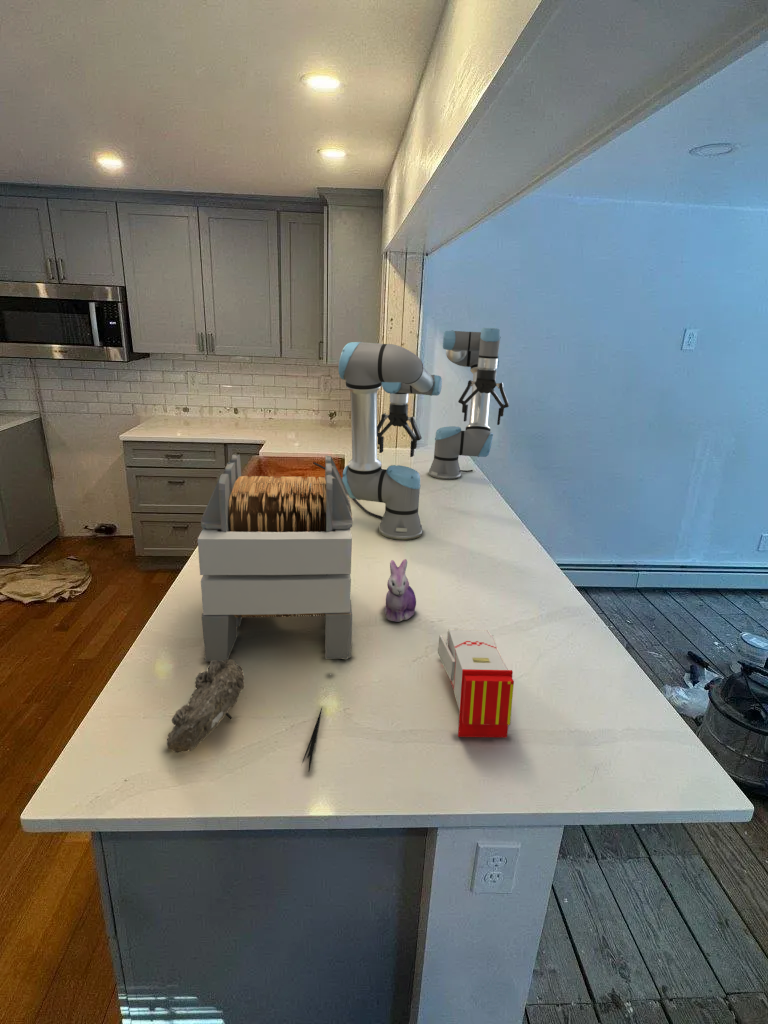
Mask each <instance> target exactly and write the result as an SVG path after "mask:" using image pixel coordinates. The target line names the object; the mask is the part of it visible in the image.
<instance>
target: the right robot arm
mask: <svg viewBox="0 0 768 1024" xmlns="http://www.w3.org/2000/svg"><path fill="white" fill-rule="evenodd" d="M501 332H502V331H501V329H500V328H498V327H497V328H495V327H483V328H481V331H465V330H464V331H462V330H453V329H452V330H444V332H443V335H442V336H443V337H442V349H443V350H445V356H446V358H447V359H448V361H450V362H451V363H453V364H455V365H457V366H460V367H464V368H470V372H471V373H472V379H469V380H468V381H467V386H466V387H465V389H464V391H463V392H462V394H461V395H460V397H459V399H458V401H457V403H459V404H461V405H462V407H461V413H462V414H463V422H467V420H468V412H469V423H468V424H467V425H466V426H465V430H462V428H461V427H460V426H455V425H454V426H453V425H452V426H451V425H449V426H443V427H440V428H437V430H436V432H435V438H434V441H435V442H434V450H433V451H434V452H433V460H432V462H431V465H430V468H429V470H428V475H429V476H430V477H432V478H434V479H439V480H457V479H460V478H461V475H462V472H463V473H470V472H474V470H473V469H469V470H466V469H465V470H464V469H461V467H460V462H459V456H463V457H477V458H486V457H488V456H489V455H490V452H491V447H492V443H493V439H494V433H493V432H492V431H491V427H490V426H489V413H490V400H491V395H492V397H493V398H494V400H495V401H496V403H497V404H498V405H499V408H498V413H497V420H496V421H497V423H496V425H497V426H499V425H500V424H501V417H504V415H505V409H507V408H509V407H510V402H509V400H508V397H507V395H506V392H505V389H504V382H497V381H496V380H497V369H499V367H500V345H501V344H500V343H501ZM496 387H497V389H499V392H500V394H501V395H500V396H501V398H502V399H501V398H500V396H499V395H498V394H497V392H496V391H495V388H496ZM470 390H471V393H470V395H469V396H468V397H467V398H466V399H465V397H466V396H467V394H468V392H469V391H470ZM464 399H465V400H464ZM469 401H470V409H469V404H467V403H468V402H469ZM468 409H469V411H468Z"/></svg>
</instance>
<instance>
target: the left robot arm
mask: <svg viewBox="0 0 768 1024" xmlns="http://www.w3.org/2000/svg"><path fill="white" fill-rule="evenodd" d="M338 374H339V378H340V379H341V380H343V381H344V380H345V388H346V389H348V390H349V391H350V423H351V426H350V427H351V429H350V430H351V459H350V460H349V461H348V462H347V465H345V466H344V469H343V471H342V477H341V479H342V481H343V483H344V485H345V487H346V489H347V492H348V494H349V499H352V500H353V502H355V504H356V505H357V506H358V507H359V508H360V509H361V510H362V511H364V512H365V513H366V514H367V515H369V516H372V517H374V518H378V519H381V522H379V526H378V533H379V534H380V535H381V536H382V537H385V538H387V539H389V540H395V541H410V540H415V539H418V538H420V537H421V536H422V535H423V525H422V524H421V518H420V515H419V507H420V506H419V505H420V494H421V493H420V492H421V474H420V472H418V471H417V470H416V469H414V468H412V467H409V466H405V465H399V464H397V465H396V464H393V465H388V466H387V468H386V469H385V468H383V467H382V461H381V460H380V459H379V458H378V451H379V454H382V453H383V452H384V443H385V441H384V440H385V437H384V436H383V435H384V434H385V433H386V432H387V431H388V430H389V429H390V428H391V427H392V426H393V427H399V428H401V427H402V428H403V429H404V430H405V431H406V433H407V435H409V438H411V441H410V452H409V454H410V455H409V457H410V458H413V457H414V456H415V450H416V449H417V446H418V441H421V440H422V438H423V437H422V434H421V433H420V430H419V428H418V425H417V423H416V417H415V415H413V416H409V414H408V413H409V404H408V403H409V395H410V394H411V395H423V396H439V395H440V394H441V392H442V387H443V386H442V385H443V378H442V376H440V375H437V374H431V373H429V371H428V370H427V369H426V368H425V367H424V363H423V362H422V359H421V358H420V357H419V356H418V355H416V353H414V352H413V351H411V350H409V349H407V348H405V347H403V346H400V345H397V344H393V343H377V342H365V341H364V342H363V341H353V342H352V341H351V342H348V343H347V344H345V345H344V347H343V348H342V350H341V353H340V356H339V361H338ZM380 388H382V390H383V391H384V392H385V393H387V394H389V406H388V407H389V409H388V411H389V412H388V413H385V412H384V413H382V414H381V417H380V420H379V422H378V391H379V389H380ZM386 420H389V422H388V423H387V424H386V425H385V426H384V427H383V425H384V423H385V421H386ZM408 422H409V423H410V425H411V427H410V426H409V424H408ZM382 427H383V428H382ZM378 445H379V450H378ZM313 465H315V466H317V467H319V468H321V469H322V470H325V466H323V465H321V464H320V463H317V462H315V461H314V462H313ZM359 501H367V502H373V503H374V502H375V503H383V504H384V505H385V507H384V508H385V509H384V513H383V515H380V514H376V513H373V512H371V511H369V510H367V509H366V508H365V507H364V505H362V504H361V503H360V502H359Z"/></svg>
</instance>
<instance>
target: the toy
mask: <svg viewBox="0 0 768 1024" xmlns="http://www.w3.org/2000/svg"><path fill="white" fill-rule="evenodd" d="M446 640H447V643H446V641H445V639H444V636H443V635H442V634H439V637H438V646H437V656H438V657H439V659H440V661H441V663H442V666H443V668H444V670H445V672H446V674H447V677H448V679H449V681H450V684H451V687H452V690H453V693H454V697H455V701H456V705H457V708H458V711H459V714H458V715H459V716H458V730H457V731H458V732H457V737H458V738H508V731H509V726H510V725H511V717H512V707H513V697H514V696H513V695H514V684H515V680H514V679H513V673H514V671H513V670H512V669H508V667H507V665H506V662H505V661H504V659H503V658H502V655H501V653H500V651H499V649H498V647H497V643H496V639H495V637H494V635H493V634H491V632H490V631H489V629H467V628H466V629H465V628H463V629H461V628H460V629H459V628H448V630H447V639H446Z"/></svg>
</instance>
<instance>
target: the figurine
mask: <svg viewBox="0 0 768 1024" xmlns="http://www.w3.org/2000/svg"><path fill="white" fill-rule="evenodd" d="M407 567H408V559H406V558H404V559H403V560H402V561H401V563H400V565H399V566H398V565H397V563H396V562H395V561H394V560H393V559H391V560H390V561H389V570H390V576H389V578H388V579H387V589H388V591H387V592H386V594H385V595H386V596H385V607H384V615H385V616H386V620H387V621H391V622H395V623H400V622H402V621H406V620H409V619H410V618H411V617H413V616H414V615H415V610H416V606H417V597H416V593H415V591H414V590H413V587H411V586H410V582H409V579H408V577H407V574H406V571H407Z"/></svg>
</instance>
